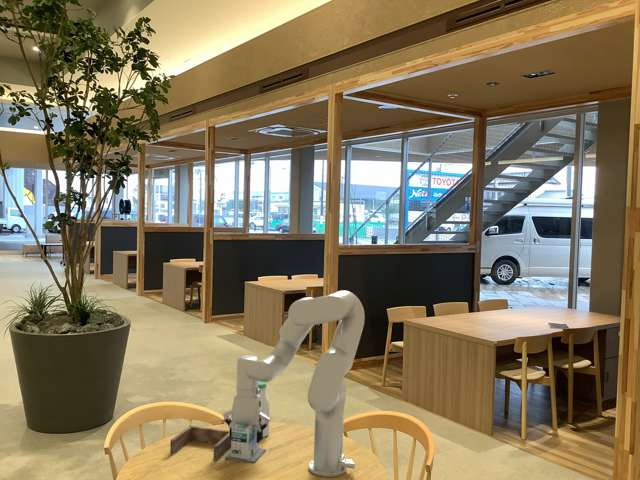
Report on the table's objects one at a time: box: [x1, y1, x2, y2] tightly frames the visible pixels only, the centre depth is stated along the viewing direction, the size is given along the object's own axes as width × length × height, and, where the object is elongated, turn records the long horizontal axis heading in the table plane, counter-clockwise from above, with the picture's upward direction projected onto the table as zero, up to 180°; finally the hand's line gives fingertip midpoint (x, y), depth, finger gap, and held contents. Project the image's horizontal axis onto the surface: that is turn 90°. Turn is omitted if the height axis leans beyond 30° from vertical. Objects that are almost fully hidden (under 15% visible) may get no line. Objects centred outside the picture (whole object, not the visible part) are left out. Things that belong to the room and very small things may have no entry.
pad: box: [224, 447, 266, 464], centre depth 205 cm, size 11×11×1 cm
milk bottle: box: [258, 381, 271, 438], centre depth 223 cm, size 8×8×20 cm
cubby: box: [169, 425, 231, 462], centre depth 208 cm, size 17×15×5 cm
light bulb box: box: [230, 423, 260, 460], centre depth 205 cm, size 11×7×11 cm, turn 166°
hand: (245, 439), depth 205 cm, fingers open, 9 cm apart
